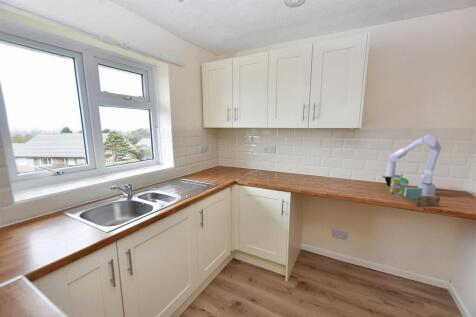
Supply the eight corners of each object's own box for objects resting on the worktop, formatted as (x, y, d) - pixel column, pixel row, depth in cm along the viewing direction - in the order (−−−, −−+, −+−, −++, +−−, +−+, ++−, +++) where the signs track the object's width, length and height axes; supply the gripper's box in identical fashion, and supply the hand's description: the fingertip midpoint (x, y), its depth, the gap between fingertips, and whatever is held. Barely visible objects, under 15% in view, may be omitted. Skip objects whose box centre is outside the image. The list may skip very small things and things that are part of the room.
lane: (413, 195, 150) (414, 188, 149) (438, 206, 131) (440, 197, 130) (394, 195, 150) (395, 188, 149) (416, 206, 131) (418, 197, 130)
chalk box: (389, 190, 162) (391, 172, 160) (403, 192, 158) (406, 173, 156) (391, 194, 154) (394, 175, 151) (406, 196, 150) (409, 176, 147)
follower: (418, 198, 144) (420, 187, 143) (420, 199, 142) (422, 188, 141) (403, 198, 144) (404, 187, 143) (405, 199, 142) (406, 188, 141)
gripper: (395, 168, 167) (393, 184, 169) (378, 168, 167) (376, 184, 169) (402, 170, 160) (400, 187, 162) (384, 170, 160) (382, 187, 162)
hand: (388, 186), depth 165 cm, fingers closed
